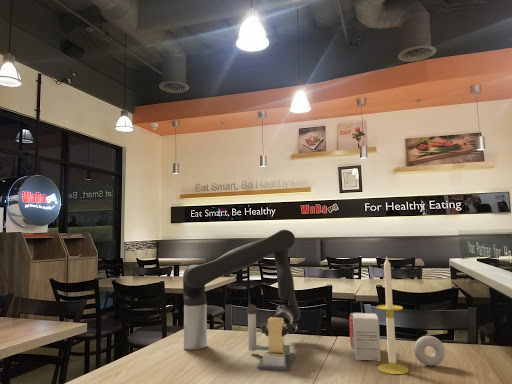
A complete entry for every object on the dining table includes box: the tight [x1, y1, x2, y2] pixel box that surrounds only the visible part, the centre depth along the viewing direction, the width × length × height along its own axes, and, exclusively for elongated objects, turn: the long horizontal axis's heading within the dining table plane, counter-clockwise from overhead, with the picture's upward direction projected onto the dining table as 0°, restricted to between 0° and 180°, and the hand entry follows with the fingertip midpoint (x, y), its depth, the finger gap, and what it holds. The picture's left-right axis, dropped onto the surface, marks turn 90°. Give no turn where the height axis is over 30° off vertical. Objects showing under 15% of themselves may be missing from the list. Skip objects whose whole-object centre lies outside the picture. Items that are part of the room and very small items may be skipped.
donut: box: [413, 335, 446, 367], centre depth 134 cm, size 10×3×10 cm, turn 80°
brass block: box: [267, 316, 285, 354], centre depth 140 cm, size 4×5×13 cm
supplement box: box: [352, 312, 382, 362], centre depth 145 cm, size 9×9×15 cm
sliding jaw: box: [246, 304, 291, 355], centre depth 150 cm, size 6×17×17 cm, turn 77°
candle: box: [375, 257, 410, 375], centre depth 132 cm, size 10×10×38 cm
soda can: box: [348, 312, 354, 349], centre depth 157 cm, size 7×7×13 cm
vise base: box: [256, 351, 296, 372], centre depth 141 cm, size 16×11×4 cm, turn 167°
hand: (274, 333), depth 137 cm, fingers closed on brass block, 5 cm apart
